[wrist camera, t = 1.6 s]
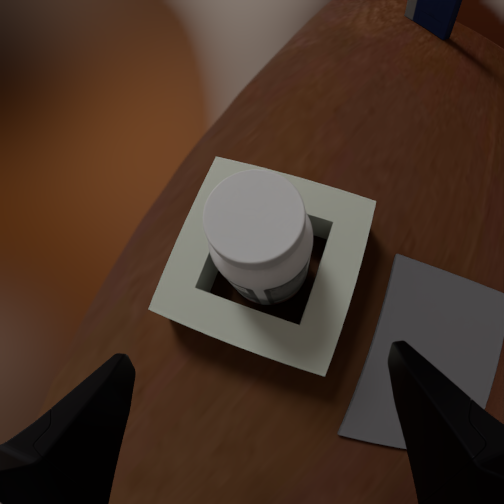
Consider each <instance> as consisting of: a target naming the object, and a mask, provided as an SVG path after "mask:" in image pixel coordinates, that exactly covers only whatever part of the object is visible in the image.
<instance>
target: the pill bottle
mask: <svg viewBox="0 0 504 504" xmlns="http://www.w3.org/2000/svg"><path fill="white" fill-rule="evenodd" d="M203 228H204V232H205V235H206V237H207V239H208V247H209V252H210V255H211V258H212V260H213V262H214V264H215V266H216V267H217V269H218V270H219V271H220V273H221V274H222V275H223V276H224V277H225V278H226V279H227V280H228V281H229V282H230V283H231V284H232V286H233V287H234V288H235V289H236V290H237V291H238V292H239V293H240V294H241V295H242V296H243V297H245V298H246V299H248V300H250V301H252V302H254V303H257V304H262V305H275V304H279V303H282V302H285V301H287V300H288V299H290V298H292V297H293V296H294V295H295V294H296V293H297V292H298V291H299V290H300V288H301V287H302V286H303V284H304V282H305V280H306V277H307V272H308V267H309V262H310V258H311V252H312V247H313V229H312V224H311V221H310V219H309V216H308V214H307V213H306V211H305V206H304V202H303V199H302V197H301V195H300V193H299V191H298V190H297V188H296V187H295V186H294V185H293V184H292V183H291V182H290V181H289V180H287V179H286V178H284V177H283V176H281V175H279V174H277V173H274V172H271V171H267V170H259V169H253V170H245V171H241V172H238V173H235V174H233V175H231V176H229V177H227V178H225V179H224V180H223V181H221V182H220V183H219V184H218V185H217V186H216V187H215V188H214V189H213V191H212V192H211V193H210V195H209V197H208V198H207V201H206V203H205V206H204V211H203Z"/></svg>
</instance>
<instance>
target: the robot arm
mask: <svg viewBox="0 0 504 504" xmlns="http://www.w3.org/2000/svg"><path fill="white" fill-rule="evenodd" d="M388 369H389V374H390V380H391V386H392V392H393V398H394V403H395V407H396V411H397V414H398V418H399V422H400V425H401V429H402V433H403V437H404V441H405V445H406V449H407V453H408V457H409V461H410V466H411V470H412V474H413V479H414V484H415V488H416V493H417V498H418V504H504V424H502V423H501V422H499V421H498V420H497V419H495V418H494V417H493V416H491V415H490V414H489V413H488V412H486V411H485V410H484V409H483V408H482V407H481V406H479V405H478V404H477V403H476V402H475V401H474V400H473V399H472V400H471V398H470V397H469V396H468V395H467V394H466V393H465V392H464V391H462V390H461V389H460V388H459V387H458V386H457V385H456V384H454V383H453V382H452V381H451V380H450V379H449V378H448V377H446V376H445V375H444V374H443V373H442V372H441V371H440V370H438V369H437V368H436V367H435V366H434V365H433V364H432V363H430V362H429V361H428V360H427V359H426V358H425V357H423V356H422V355H421V354H420V353H419V352H418V351H416V350H415V349H414V348H413V347H412V346H410V345H409V344H408V343H407V342H406V341H404V340H401V341H394V342H393V343H392V344H391V348H390V352H389V356H388ZM134 381H135V368H134V366H133V365H132V363H131V361H130V359H129V357H128V355H126V354H120V353H117V354H115V355H113V356H112V357H111V358H110V359H109V360H107V361H106V362H105V363H104V364H103V365H102V366H100V367H99V368H98V369H97V370H96V371H94V372H93V373H92V374H91V375H90V376H89V377H87V378H86V379H85V380H84V381H83V382H81V383H80V384H79V385H78V386H77V387H76V388H74V389H73V390H72V391H71V392H70V393H68V394H67V395H66V396H65V397H64V398H63V399H61V400H60V401H59V402H58V403H57V404H56V405H54V406H53V407H52V408H51V409H50V410H48V411H47V412H46V413H45V414H44V415H42V416H41V417H40V418H39V419H38V420H36V421H35V422H34V423H32V424H31V425H30V426H28V427H27V428H26V429H24V430H23V431H21V432H20V433H19V434H17V435H16V436H14V437H13V438H11V439H10V440H8V441H7V442H5V443H4V444H1V445H0V504H108V503H109V498H110V493H111V488H112V483H113V479H114V474H115V470H116V465H117V461H118V456H119V452H120V448H121V444H122V440H123V436H124V432H125V428H126V424H127V420H128V416H129V412H130V407H131V400H132V394H133V387H134Z"/></svg>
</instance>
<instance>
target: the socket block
mask: <svg viewBox="0 0 504 504" xmlns="http://www.w3.org/2000/svg"><path fill="white" fill-rule="evenodd" d="M253 169H259V170H267V171H271V172H274V173H277V174H279V175H281V176H283V177H284V178H286V179H287V180H289V181H290V182H291V183H292V184H293V185H294V186H295V187H296V188H297V190H298V191H299V193H300V195H301V197H302V199H303V202H304V206H305V211H306V213H307V214H308V216H309V219H310V221H311V224H312V229H313V235H314V236H318V237H321V238H324V239H327V242H326V245H325V249H324V252H323V255H322V258H321V262H320V265H319V268H318V271H317V274H316V277H315V280H314V283H313V286H312V289H311V292H310V295H309V298H308V301H307V304H306V307H305V310H304V313H303V316H302V319H301V322H300V324H299V325H298V324H295V323H292V322H289V321H286V320H283V319H280V318H277V317H274V316H271V315H269V314H266V313H263V312H260V311H257V310H254V309H252V308H249V307H246V306H243V305H240V304H238V303H235V302H232V301H229V300H227V299H224V298H221V297H219V296H216V295H213V294H211V293H210V291H211V288H212V286H213V283H214V281H215V278H216V275H217V273H218V269H217V267H216V266H215V264H214V262H213V260H212V258H211V255H210V252H209V247H208V239H207V237H206V235H205V232H204V228H203V211H204V206H205V203H206V201H207V198H208V197H209V195H210V193H211V192H212V191H213V189H214V188H215V187H216V186H217V185H218V184H219V183H220V182H221V181H223V180H224V179H225V178H227V177H229V176H231V175H233V174H235V173H238V172H241V171H245V170H253ZM375 204H376V201H374V200H371V199H368V198H365V197H362V196H359V195H356V194H352V193H349V192H346V191H343V190H340V189H337V188H333V187H330V186H327V185H323V184H320V183H317V182H313V181H310V180H306V179H303V178H299V177H296V176H292V175H288V174H285V173H281V172H277V171H274V170H270V169H266V168H262V167H258V166H254V165H250V164H246V163H242V162H238V161H234V160H229V159H225V158H221V157H216V158H215V160H214V162H213V164H212V166H211V168H210V170H209V172H208V174H207V176H206V178H205V180H204V182H203V184H202V186H201V189H200V191H199V193H198V195H197V197H196V199H195V201H194V203H193V206H192V208H191V210H190V212H189V214H188V217H187V219H186V221H185V223H184V225H183V228H182V230H181V232H180V234H179V237H178V239H177V241H176V243H175V246H174V248H173V250H172V253H171V255H170V257H169V260H168V262H167V264H166V267H165V269H164V272H163V274H162V277H161V279H160V281H159V284H158V286H157V289H156V291H155V294H154V296H153V299H152V301H151V304H150V306H149V310H151V311H153V312H156V313H158V314H160V315H162V316H164V317H167V318H169V319H171V320H174V321H176V322H178V323H180V324H183V325H185V326H187V327H190V328H192V329H195V330H197V331H199V332H202V333H204V334H207V335H209V336H212V337H214V338H217V339H219V340H222V341H224V342H227V343H229V344H232V345H235V346H237V347H240V348H242V349H245V350H248V351H250V352H253V353H256V354H259V355H261V356H264V357H267V358H270V359H273V360H276V361H278V362H281V363H284V364H287V365H290V366H293V367H296V368H299V369H302V370H305V371H308V372H312V373H315V374H318V375H321V376H324V377H325V375H326V372H327V370H328V367H329V364H330V361H331V359H332V356H333V353H334V350H335V347H336V344H337V341H338V338H339V335H340V332H341V329H342V326H343V323H344V320H345V317H346V314H347V311H348V307H349V304H350V301H351V298H352V294H353V291H354V287H355V284H356V280H357V277H358V273H359V270H360V266H361V262H362V258H363V255H364V251H365V247H366V243H367V239H368V235H369V231H370V226H371V222H372V218H373V213H374V209H375Z"/></svg>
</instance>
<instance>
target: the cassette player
mask: <svg viewBox="0 0 504 504" xmlns="http://www.w3.org/2000/svg"><path fill="white" fill-rule="evenodd" d="M461 2H462V0H408V2H407V7H406V11H405V16H406V17H408V18H409V19H411V20H413V21H414V22H416V23H418V24H419V25H421V26H423V27H424V28H426V29H427V30H429V31H430V32H432V33H433V34H435V35H436V36H438V37H439V38H441V39H442V40H445V39H448V38H449V37H450V34H451V32H452V29H453V26H454V23H455V20H456V17H457V14H458V11H459V8H460V5H461Z"/></svg>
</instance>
